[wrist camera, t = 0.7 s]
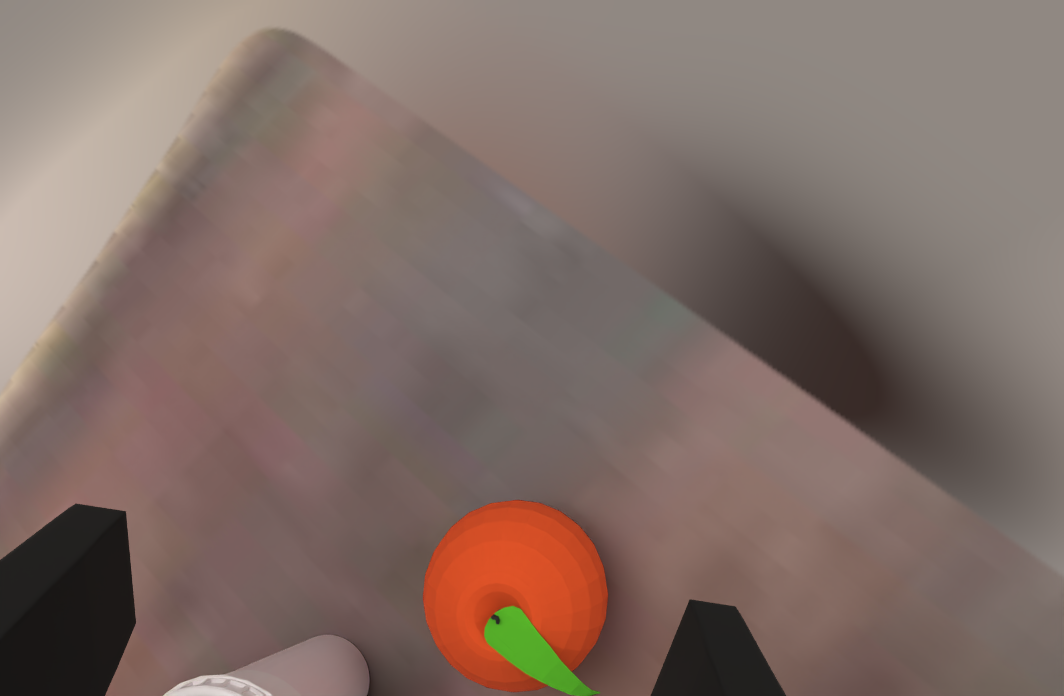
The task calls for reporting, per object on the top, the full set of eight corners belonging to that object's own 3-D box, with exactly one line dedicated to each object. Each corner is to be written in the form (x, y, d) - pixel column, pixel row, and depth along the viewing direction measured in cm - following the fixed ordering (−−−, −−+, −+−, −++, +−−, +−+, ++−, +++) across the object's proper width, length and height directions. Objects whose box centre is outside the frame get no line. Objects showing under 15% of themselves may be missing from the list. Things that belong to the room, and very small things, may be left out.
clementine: (669, 592, 34) (668, 649, 27) (552, 710, 35) (521, 795, 28) (528, 453, 35) (492, 473, 28) (417, 569, 36) (355, 617, 29)
